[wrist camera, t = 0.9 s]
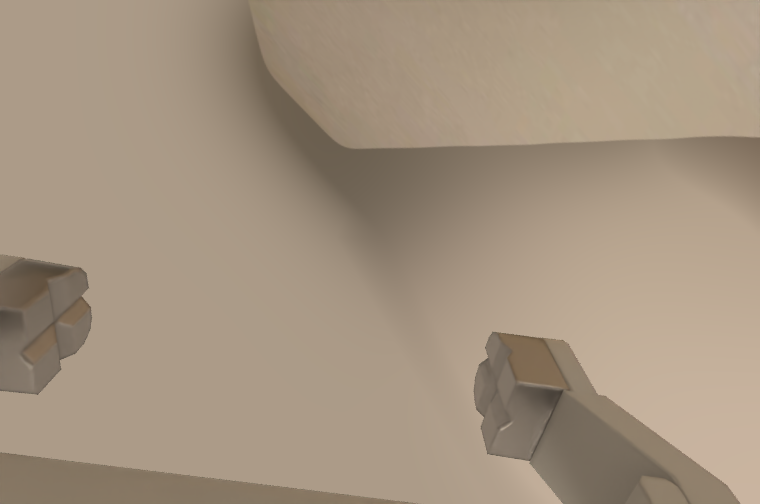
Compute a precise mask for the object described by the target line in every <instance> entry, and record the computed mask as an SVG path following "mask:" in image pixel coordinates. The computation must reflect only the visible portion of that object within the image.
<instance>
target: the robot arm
mask: <svg viewBox="0 0 760 504" xmlns="http://www.w3.org/2000/svg"><path fill="white" fill-rule="evenodd" d="M88 288H89V287H88V281H87V275H86V272H84V271H83V270H82V269H81V268H79V267H73V266H67V265H61V264H55V263H50V262H44V261H39V260H32V259H25V258H22V257H15V256H8V255H0V391H9V392H19V393H29V394H37V395H38V394H39V393H40V392H41V391H42V389H43V388H44V387H45V386H46V385H47V384H48V383H49V382H50V381H51V380H52V379H53V377H54V376H55V375H56V374H57V373H58V372H59V371H60V370H61V366H60V360H61V359H64V358H66V357H68V356H70V355H73V354H75V353H76V352H77V351H78V350H79V349H80V347H81V346H82V345H83V344H84V342H85V340H86V338H87V336H88V333H89V331H90V328H91V320H92V315H91V307H90V306H89V304H88V303H87V302H86V301H85V300H84V299H83V297H82V295H83V294H84V293H85V292H86V290H87V289H88ZM485 348H486V351H487V355H488V358H487V359H486V360H485V361H483V362H482V363H481V364H479V367H478V370H477V373H476V377H475V385H474V398H475V399H474V400H475V405H476V409H477V410H478V412H480V414H481V415H483V416H484V420H483V422H482V425H481V430H482V434H483V438H484V441H485V446H486V450H487V454H490V455H496V456H502V457H508V458H515V459H522V460H527V461H530V464H531V465H532V466H533V468H534V469H535V470H536V471H537V473H538V474H539V475H540V476H541V477H542V479H543V480H544V481H545V482H546V483H547V485H548V486H549V487H550V488H551V489H552V491H553V492H554V493H555V494H556V495H557V497H558V498H559V499H560V500H561V502H562V503H563V504H740V502H739V501H738V500H737V499H736V497H735V496H734V494H733V493H732V492H731V490H730V489H729V488H728V486H727V485H726V484H724V483H723V482H722V481H720V480H719V479H718V478H716V477H715V476H714V475H712V474H711V473H710V472H708V471H707V470H705V469H704V468H703V467H701V466H700V465H699V464H697V463H696V462H694V461H693V460H692V459H690V458H689V457H688V456H686V455H685V454H683V453H682V452H681V451H680V450H678V449H677V448H675V447H674V446H673V445H671V444H670V443H668V442H667V441H666V440H665V439H663V438H662V437H660V436H659V435H658V434H656V433H655V432H654V431H652V430H651V429H649V428H648V427H647V426H645V425H644V424H643V423H641V422H640V421H639V420H637V419H636V418H635V417H633V416H632V415H630V414H629V413H628V412H626V411H625V410H624V409H622V408H621V407H620V406H618V405H617V404H615V403H614V402H613V401H611V400H610V399H609V398H607V397H606V396H601V395H598V394H597V393H596V391H595V389H594V388H593V386H592V384H591V382H590V381H589V379H588V377H587V375H586V374H585V372H584V370H583V368H582V367H581V365H580V363H579V362H578V360H577V358H576V357H575V355H574V353H573V351H572V349H571V348H570V346H569V344H568V343H566V342H565V341H563V340H556V339H547V338H535V337H529V336H520V335H514V334H506V333H498V332H492V334H491V335H490V337H489V339H488V341H487V344H486V347H485ZM0 504H416V503H408V502H400V501H391V500H384V499H376V498H368V497H360V496H351V495H344V494H335V493H328V492H320V491H312V490H304V489H296V488H288V487H280V486H271V485H263V484H255V483H247V482H238V481H230V480H222V479H214V478H205V477H197V476H189V475H181V474H172V473H164V472H156V471H148V470H140V469H131V468H123V467H115V466H107V465H97V464H90V463H82V462H74V461H66V460H58V459H49V458H41V457H33V456H25V455H17V454H9V453H0Z"/></svg>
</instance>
